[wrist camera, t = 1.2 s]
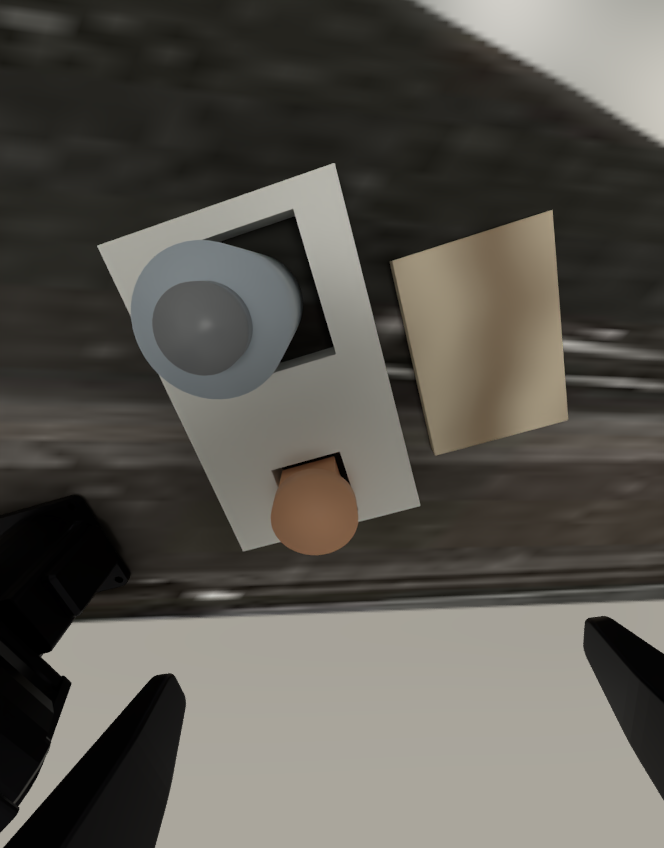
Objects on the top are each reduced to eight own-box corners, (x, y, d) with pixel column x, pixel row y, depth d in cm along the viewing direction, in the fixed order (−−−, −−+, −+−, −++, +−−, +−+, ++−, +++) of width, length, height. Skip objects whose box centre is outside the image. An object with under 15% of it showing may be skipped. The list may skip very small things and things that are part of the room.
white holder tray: (249, 528, 23) (243, 551, 21) (121, 248, 17) (97, 245, 16) (412, 486, 22) (420, 506, 20) (333, 175, 16) (334, 163, 15)
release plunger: (292, 525, 21) (287, 563, 18) (267, 463, 20) (257, 494, 17) (362, 507, 21) (368, 543, 18) (342, 442, 19) (344, 471, 17)
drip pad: (431, 449, 21) (435, 455, 21) (389, 261, 18) (392, 261, 17) (559, 414, 21) (568, 420, 20) (542, 212, 17) (552, 210, 16)
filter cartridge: (231, 360, 19) (159, 428, 11) (195, 270, 18) (79, 269, 9) (314, 335, 19) (306, 385, 11) (285, 240, 17) (247, 210, 9)
